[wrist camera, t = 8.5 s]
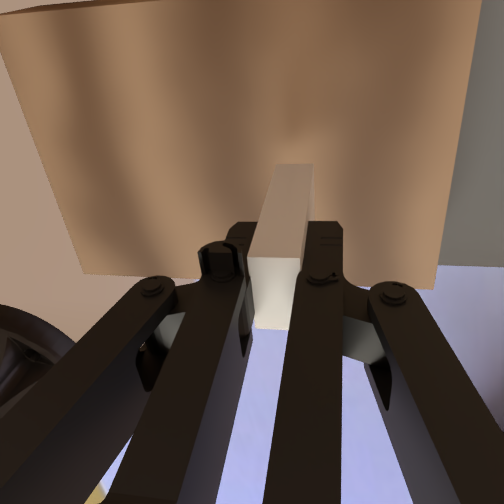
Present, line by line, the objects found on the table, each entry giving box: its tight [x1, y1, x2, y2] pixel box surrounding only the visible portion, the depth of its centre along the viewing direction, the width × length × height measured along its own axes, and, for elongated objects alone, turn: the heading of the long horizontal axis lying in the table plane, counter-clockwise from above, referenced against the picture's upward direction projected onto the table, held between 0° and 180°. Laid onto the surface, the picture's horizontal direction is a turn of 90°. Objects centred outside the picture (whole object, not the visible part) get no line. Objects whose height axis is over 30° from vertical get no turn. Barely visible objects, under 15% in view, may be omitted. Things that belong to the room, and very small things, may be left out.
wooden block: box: [0, 0, 482, 290], centre depth 23 cm, size 20×14×4 cm
